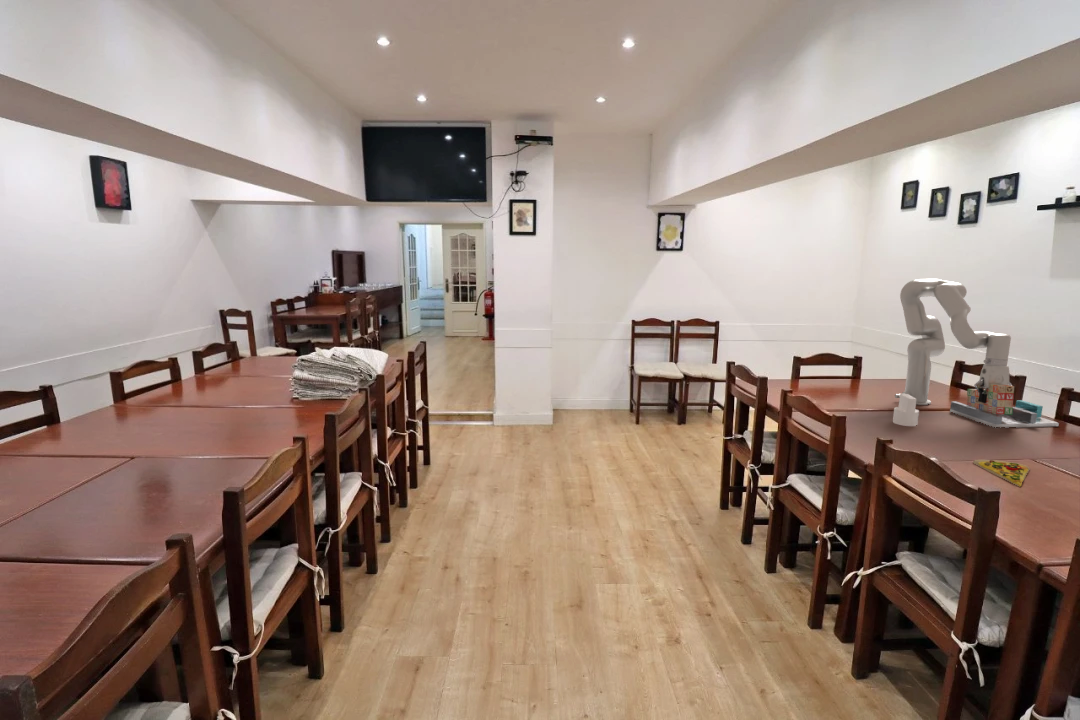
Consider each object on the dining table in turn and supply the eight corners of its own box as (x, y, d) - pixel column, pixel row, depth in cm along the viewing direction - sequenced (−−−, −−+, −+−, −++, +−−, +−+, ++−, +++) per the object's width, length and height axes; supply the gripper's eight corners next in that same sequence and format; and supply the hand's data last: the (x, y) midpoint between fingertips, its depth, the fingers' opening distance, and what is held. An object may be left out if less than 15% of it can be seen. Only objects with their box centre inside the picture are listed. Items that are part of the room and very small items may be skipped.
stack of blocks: (966, 409, 253) (967, 382, 253) (981, 409, 252) (982, 382, 252) (996, 414, 232) (997, 384, 232) (1013, 414, 231) (1014, 385, 231)
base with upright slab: (921, 426, 233) (924, 399, 231) (897, 425, 235) (901, 398, 233) (911, 420, 242) (915, 394, 240) (889, 419, 244) (892, 393, 241)
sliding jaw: (1030, 422, 231) (1032, 411, 230) (981, 407, 255) (983, 396, 254) (1056, 422, 232) (1058, 410, 231) (1005, 406, 255) (1007, 396, 254)
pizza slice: (1026, 470, 188) (1028, 461, 188) (1050, 493, 170) (1052, 484, 169) (971, 463, 195) (972, 455, 194) (988, 484, 176) (989, 476, 176)
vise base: (995, 428, 231) (997, 416, 230) (949, 412, 254) (951, 401, 253) (1058, 426, 232) (1060, 414, 231) (1007, 410, 256) (1009, 400, 255)
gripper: (984, 364, 234) (978, 404, 237) (1023, 363, 235) (1017, 403, 238) (969, 361, 241) (964, 400, 244) (1007, 360, 242) (1001, 399, 245)
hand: (990, 401), depth 241 cm, fingers open, 7 cm apart
